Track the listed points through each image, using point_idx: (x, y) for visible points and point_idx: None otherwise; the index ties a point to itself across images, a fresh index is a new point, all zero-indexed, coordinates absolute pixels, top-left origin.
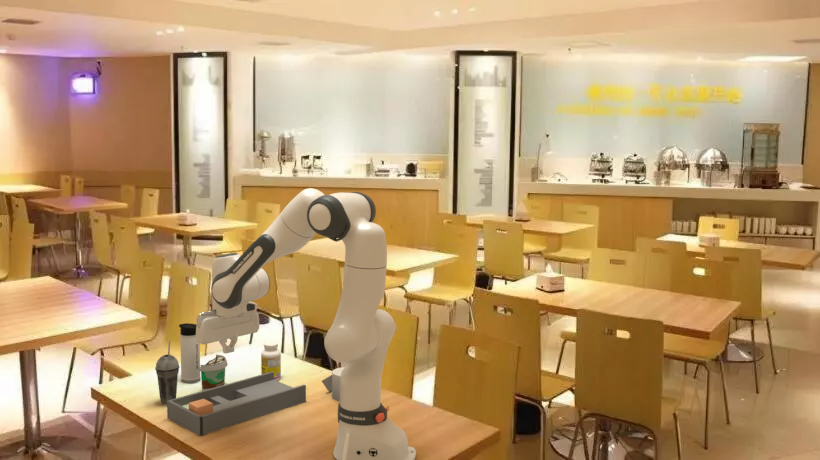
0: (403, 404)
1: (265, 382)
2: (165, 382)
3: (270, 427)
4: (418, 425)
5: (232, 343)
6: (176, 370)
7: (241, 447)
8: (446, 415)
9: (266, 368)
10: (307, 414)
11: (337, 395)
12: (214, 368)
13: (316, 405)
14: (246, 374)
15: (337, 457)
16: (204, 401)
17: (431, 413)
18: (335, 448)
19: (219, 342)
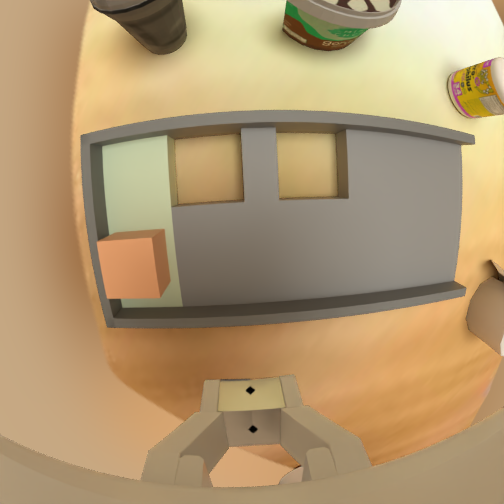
0: (485, 376)
1: (439, 145)
2: (122, 25)
3: (287, 362)
4: (431, 438)
5: (297, 450)
6: (148, 5)
7: (181, 398)
8: (468, 422)
9: (474, 94)
10: (391, 345)
11: (473, 320)
12: (333, 17)
13: (435, 312)
14: (431, 27)
15: (281, 482)
16: (143, 264)
17: (469, 413)
18: (290, 482)
19: (153, 449)
